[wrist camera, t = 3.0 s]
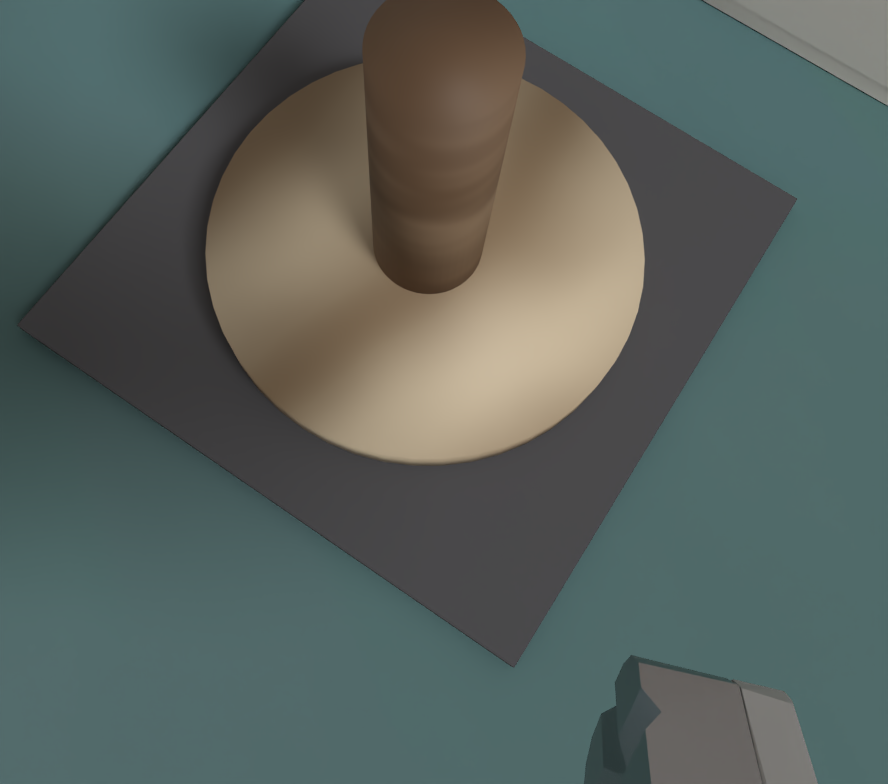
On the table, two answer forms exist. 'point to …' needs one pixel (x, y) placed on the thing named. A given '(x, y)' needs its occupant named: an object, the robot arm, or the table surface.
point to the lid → (426, 246)
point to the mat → (398, 485)
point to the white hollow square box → (826, 35)
